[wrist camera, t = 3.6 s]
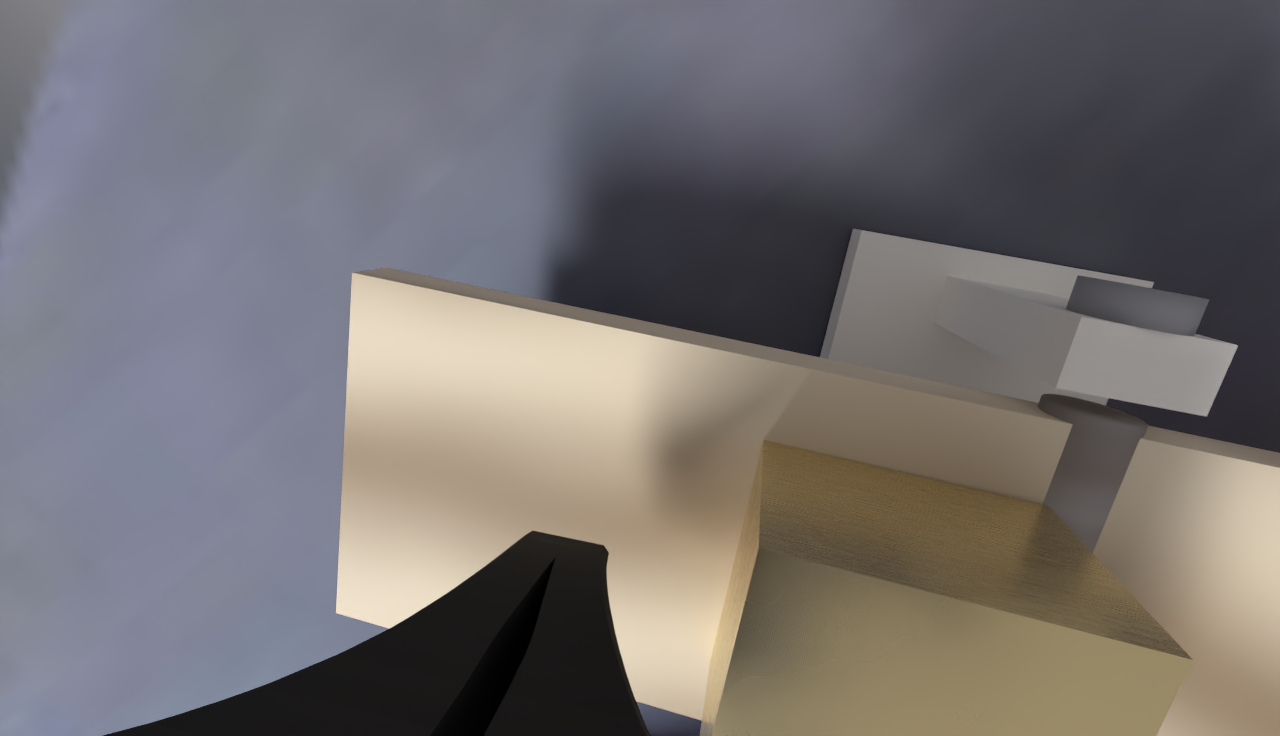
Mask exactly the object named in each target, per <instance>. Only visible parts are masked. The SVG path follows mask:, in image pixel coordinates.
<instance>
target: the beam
mask: <svg viewBox="0 0 1280 736" xmlns="http://www.w3.org/2000/svg"><path fill="white" fill-rule="evenodd" d="M763 440H767V441H771V442H776V443H780V444H784V445H789V446H793V447H797V448H801V449H806V450H810V451H814V452H819V453H823V454H827V455H832V456H836V457H840V458H845V459H849V460H853V461H857V462H862V463H866V464H870V465H875V466H879V467H883V468H888V469H892V470H896V471H900V472H905V473H909V474H913V475H918V476H922V477H926V478H931V479H935V480H939V481H944V482H948V483H952V484H956V485H961V486H965V487H969V488H974V489H978V490H982V491H987V492H991V493H995V494H1000V495H1004V496H1008V497H1012V498H1017V499H1021V500H1025V501H1030V502H1034V503H1038V504H1043V505H1047V506H1049V507H1050V508H1051V509H1052V510H1053V511H1054V512H1055V513H1056V514H1057V515H1058V517H1059V518H1060V519H1061V520H1062V521H1063V522H1064V523H1065V524H1066V525H1067V526H1068V527H1069V528H1070V529H1071V530H1072V531H1073V532H1074V534H1075V535H1076V536H1077V537H1078V538H1079V539H1080V540H1081V541H1082V542H1083V543H1084V544H1085V545H1086V546H1087V547H1088V548H1089V550H1090V551H1091V552H1092V553H1093V554H1094V555H1095V556H1096V557H1097V558H1098V559H1099V560H1100V561H1101V562H1102V563H1103V564H1104V565H1105V567H1106V568H1107V569H1108V570H1109V571H1110V572H1111V573H1112V574H1113V575H1114V576H1115V577H1116V578H1117V579H1118V580H1119V581H1120V583H1121V584H1122V585H1123V586H1124V587H1125V588H1126V589H1127V590H1128V591H1129V592H1130V593H1131V594H1132V595H1133V596H1134V597H1135V598H1136V600H1137V601H1138V602H1139V603H1140V604H1141V605H1142V606H1143V607H1144V608H1145V609H1146V610H1147V611H1148V612H1149V613H1150V614H1151V615H1152V617H1153V618H1154V619H1155V620H1156V621H1157V622H1158V623H1159V624H1160V625H1161V626H1162V627H1163V628H1164V629H1165V630H1166V631H1167V633H1168V634H1169V635H1170V636H1171V637H1172V638H1173V639H1174V640H1175V641H1176V642H1177V643H1178V644H1179V645H1180V646H1181V647H1182V648H1183V650H1184V651H1185V652H1186V653H1187V654H1188V655H1189V656H1190V657H1191V658H1192V659H1193V662H1192V664H1191V666H1190V668H1189V670H1188V672H1187V674H1186V676H1185V678H1184V680H1183V682H1182V685H1181V687H1180V689H1179V691H1178V693H1177V695H1176V697H1175V699H1174V701H1173V703H1172V705H1171V707H1170V709H1169V711H1168V713H1167V715H1166V717H1165V719H1164V721H1163V723H1162V725H1161V728H1160V730H1159V732H1158V734H1157V736H1280V453H1278V452H1273V451H1268V450H1263V449H1259V448H1254V447H1249V446H1244V445H1239V444H1235V443H1230V442H1225V441H1220V440H1215V439H1210V438H1206V437H1201V436H1196V435H1191V434H1186V433H1182V432H1177V431H1172V430H1167V429H1162V428H1157V427H1153V426H1148V424H1147V423H1146V422H1145V421H1143V420H1141V419H1139V418H1137V417H1135V416H1133V415H1131V414H1128V413H1126V412H1123V411H1120V410H1117V409H1114V408H1111V407H1108V406H1105V405H1102V404H1098V403H1095V402H1091V401H1087V400H1083V399H1079V398H1075V397H1070V396H1064V395H1058V394H1043V395H1042V396H1041V398H1040V401H1039V403H1037V402H1032V401H1027V400H1022V399H1018V398H1013V397H1008V396H1003V395H998V394H994V393H989V392H984V391H979V390H974V389H969V388H965V387H960V386H955V385H950V384H945V383H941V382H936V381H931V380H926V379H921V378H916V377H912V376H907V375H902V374H897V373H892V372H888V371H883V370H878V369H873V368H868V367H863V366H859V365H854V364H849V363H844V362H839V361H835V360H830V359H825V358H820V357H815V356H810V355H806V354H801V353H796V352H791V351H786V350H782V349H777V348H772V347H767V346H762V345H757V344H753V343H748V342H743V341H738V340H733V339H729V338H724V337H719V336H714V335H709V334H704V333H700V332H695V331H690V330H685V329H680V328H676V327H671V326H666V325H661V324H656V323H651V322H647V321H642V320H637V319H632V318H627V317H623V316H618V315H613V314H608V313H603V312H598V311H594V310H589V309H584V308H579V307H574V306H569V305H565V304H560V303H555V302H550V301H545V300H541V299H536V298H531V297H526V296H521V295H516V294H512V293H507V292H502V291H497V290H492V289H488V288H483V287H478V286H473V285H468V284H463V283H459V282H454V281H449V280H444V279H439V278H435V277H430V276H425V275H420V274H415V273H410V272H406V271H401V270H396V269H391V268H380V269H374V270H367V271H360V272H353V273H352V288H351V309H350V330H349V351H348V372H347V393H346V414H345V436H344V457H343V478H342V499H341V520H340V541H339V562H338V583H337V605H336V613H338V614H342V615H345V616H348V617H352V618H355V619H358V620H362V621H365V622H369V623H372V624H375V625H379V626H382V627H386V628H389V629H390V628H391V627H393V626H395V625H397V624H398V623H400V622H402V621H403V620H405V619H407V618H409V617H410V616H412V615H413V614H415V613H416V612H418V611H420V610H421V609H423V608H424V607H426V606H428V605H429V604H431V603H432V602H434V601H435V600H437V599H439V598H440V597H442V596H443V595H445V594H446V593H448V592H449V591H451V590H452V589H454V588H455V587H457V586H458V585H459V584H461V583H462V582H464V581H465V580H466V579H468V578H469V577H471V576H472V575H473V574H475V573H476V572H478V571H479V570H480V569H482V568H483V567H485V566H486V565H487V564H488V563H490V562H491V561H492V560H494V559H495V558H496V557H498V556H499V555H500V554H502V553H503V552H504V551H505V550H507V549H508V548H509V547H510V546H512V545H513V544H514V543H516V542H517V541H518V540H519V539H521V538H522V537H523V536H525V535H526V534H528V533H529V532H531V531H532V530H533V531H537V532H542V533H547V534H552V535H557V536H562V537H567V538H571V539H576V540H581V541H586V542H591V543H596V544H600V545H604V546H605V548H606V549H607V551H608V552H609V556H608V561H607V587H608V596H609V603H610V609H611V614H612V619H613V624H614V629H615V634H616V638H617V642H618V646H619V650H620V653H621V657H622V660H623V664H624V667H625V671H626V674H627V677H628V680H629V683H630V686H631V689H632V692H633V695H634V697H635V700H636V701H637V702H640V703H644V704H647V705H651V706H654V707H657V708H661V709H664V710H668V711H671V712H674V713H678V714H681V715H684V716H688V717H691V718H695V719H698V720H701V721H702V715H703V708H704V701H705V694H706V686H707V679H708V672H709V665H710V659H711V655H712V651H713V647H714V643H715V638H716V634H717V630H718V626H719V622H720V618H721V614H722V609H723V605H724V601H725V597H726V593H727V589H728V584H729V580H730V576H731V572H732V568H733V564H734V559H735V555H736V551H737V547H738V543H739V539H740V534H741V530H742V526H743V522H744V518H745V514H746V510H747V505H748V501H749V497H750V493H751V489H752V485H753V480H754V476H755V472H756V468H757V464H758V460H759V455H760V451H761V447H762V443H763Z"/></svg>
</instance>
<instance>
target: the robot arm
mask: <svg viewBox="0 0 1280 736" xmlns="http://www.w3.org/2000/svg"><path fill="white" fill-rule="evenodd" d="M608 556H609V552H608V551H607V549H606V548H605V546H604V545H600V544H596V543H591V542H586V541H581V540H576V539H571V538H567V537H562V536H557V535H552V534H547V533H542V532H537V531H533V530H532V531H531V532H529V533H528V534H526V535H525V536H523V537H522V538H521V539H519V540H518V541H517V542H516V543H514V544H513V545H512V546H510V547H509V548H508V549H507V550H505V551H504V552H503V553H502V554H500V555H499V556H498V557H496V558H495V559H494V560H492V561H491V562H490V563H488V564H487V565H486V566H485V567H483V568H482V569H480V570H479V571H478V572H476V573H475V574H473V575H472V576H471V577H469V578H468V579H466V580H465V581H464V582H462V583H461V584H459V585H458V586H457V587H455V588H454V589H452V590H451V591H449V592H448V593H446V594H445V595H443V596H442V597H440V598H439V599H437V600H435V601H434V602H432V603H431V604H429V605H428V606H426V607H424V608H423V609H421V610H420V611H418V612H416V613H415V614H413V615H412V616H410V617H409V618H407V619H405V620H403V621H402V622H400V623H398V624H397V625H395V626H393V627H391V628H390V629H388V630H386V631H384V632H382V633H380V634H378V635H376V636H374V637H372V638H370V639H368V640H366V641H364V642H362V643H360V644H358V645H356V646H355V647H353V648H351V649H348V650H346V651H344V652H342V653H340V654H338V655H336V656H333V657H331V658H328V659H326V660H324V661H321V662H319V663H317V664H314V665H312V666H309V667H307V668H305V669H302V670H300V671H298V672H295V673H293V674H290V675H288V676H286V677H283V678H281V679H279V680H276V681H274V682H271V683H269V684H266V685H264V686H261V687H258V688H255V689H253V690H250V691H247V692H244V693H241V694H239V695H236V696H233V697H230V698H228V699H225V700H222V701H219V702H216V703H213V704H210V705H206V706H203V707H200V708H197V709H194V710H191V711H188V712H185V713H182V714H179V715H175V716H172V717H169V718H165V719H162V720H159V721H156V722H152V723H149V724H145V725H141V726H137V727H134V728H130V729H126V730H122V731H119V732H115V733H111V734H107V735H104V736H650V734H649V732H648V730H647V727H646V725H645V723H644V720H643V718H642V715H641V713H640V710H639V708H638V705H637V703H636V700H635V697H634V695H633V692H632V689H631V686H630V683H629V680H628V677H627V674H626V671H625V667H624V664H623V660H622V657H621V653H620V650H619V646H618V642H617V638H616V634H615V629H614V624H613V619H612V614H611V609H610V603H609V596H608V587H607V561H608Z"/></svg>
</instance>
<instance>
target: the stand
mask: <svg viewBox="0 0 1280 736" xmlns="http://www.w3.org/2000/svg"><path fill="white" fill-rule="evenodd" d="M1153 284H1154V282H1151V281H1145V280H1139V279H1134V278H1128V277H1123V276H1117V275H1112V274H1106V273H1100V272H1095V271H1089V270H1084V269H1078V268H1072V267H1067V266H1061V265H1055V264H1050V263H1044V262H1039V261H1033V260H1027V259H1022V258H1016V257H1010V256H1005V255H999V254H994V253H988V252H982V251H977V250H971V249H965V248H960V247H954V246H949V245H943V244H937V243H932V242H926V241H920V240H915V239H909V238H904V237H898V236H892V235H887V234H881V233H875V232H870V231H864V230H859V229H853V230H852V234H851V238H850V242H849V245H848V249H847V253H846V257H845V261H844V265H843V269H842V273H841V277H840V281H839V284H838V288H837V292H836V296H835V300H834V304H833V308H832V312H831V316H830V319H829V323H828V327H827V331H826V335H825V339H824V343H823V347H822V351H821V355H820V358H825V359H830V360H835V361H839V362H844V363H849V364H854V365H859V366H863V367H868V368H873V369H878V370H883V371H888V372H892V373H897V374H902V375H907V376H912V377H916V378H921V379H926V380H931V381H936V382H941V383H945V384H950V385H955V386H960V387H965V388H969V389H974V390H979V391H984V392H989V393H994V394H998V395H1003V396H1008V397H1013V398H1018V399H1022V400H1027V401H1032V402H1037V403H1039V401H1040V398H1041V396H1042V395H1043V394H1058V395H1064V396H1070V397H1075V398H1079V399H1083V400H1087V401H1091V402H1095V403H1098V404H1102V405H1105V406H1106V404H1107V401H1108V399H1109V398H1111V399H1116V400H1121V401H1126V402H1132V403H1137V404H1142V405H1148V406H1153V407H1158V408H1164V409H1169V410H1174V411H1180V412H1185V413H1190V414H1196V415H1201V416H1206V417H1207V415H1208V413H1209V411H1210V408H1211V406H1212V404H1213V401H1214V399H1215V397H1216V395H1217V392H1218V390H1219V388H1220V386H1221V383H1222V381H1223V379H1224V376H1225V374H1226V372H1227V370H1228V367H1229V365H1230V363H1231V361H1232V358H1233V356H1234V354H1235V351H1236V349H1237V347H1238V345H1235V344H1232V343H1228V342H1224V341H1221V340H1217V339H1213V338H1210V337H1206V336H1202V335H1199V334H1195V333H1196V331H1197V328H1198V326H1199V324H1200V321H1201V319H1202V317H1203V314H1204V312H1205V309H1206V307H1207V305H1208V302H1209V299H1205V298H1200V297H1195V296H1190V295H1185V294H1179V293H1174V292H1169V291H1163V290H1158V289H1153V288H1152V287H1153Z"/></svg>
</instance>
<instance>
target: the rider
mask: <svg viewBox="0 0 1280 736" xmlns="http://www.w3.org/2000/svg"><path fill="white" fill-rule="evenodd" d="M1192 662H1193V659H1192V658H1191V657H1190V656H1189V655H1188V654H1187V653H1186V652H1185V651H1184V650H1183V648H1182V647H1181V646H1180V645H1179V644H1178V643H1177V642H1176V641H1175V640H1174V639H1173V638H1172V637H1171V636H1170V635H1169V634H1168V633H1167V631H1166V630H1165V629H1164V628H1163V627H1162V626H1161V625H1160V624H1159V623H1158V622H1157V621H1156V620H1155V619H1154V618H1153V617H1152V615H1151V614H1150V613H1149V612H1148V611H1147V610H1146V609H1145V608H1144V607H1143V606H1142V605H1141V604H1140V603H1139V602H1138V601H1137V600H1136V598H1135V597H1134V596H1133V595H1132V594H1131V593H1130V592H1129V591H1128V590H1127V589H1126V588H1125V587H1124V586H1123V585H1122V584H1121V583H1120V581H1119V580H1118V579H1117V578H1116V577H1115V576H1114V575H1113V574H1112V573H1111V572H1110V571H1109V570H1108V569H1107V568H1106V567H1105V565H1104V564H1103V563H1102V562H1101V561H1100V560H1099V559H1098V558H1097V557H1096V556H1095V555H1094V554H1093V553H1092V552H1091V551H1090V550H1089V548H1088V547H1087V546H1086V545H1085V544H1084V543H1083V542H1082V541H1081V540H1080V539H1079V538H1078V537H1077V536H1076V535H1075V534H1074V532H1073V531H1072V530H1071V529H1070V528H1069V527H1068V526H1067V525H1066V524H1065V523H1064V522H1063V521H1062V520H1061V519H1060V518H1059V517H1058V515H1057V514H1056V513H1055V512H1054V511H1053V510H1052V509H1051V508H1050V507H1049V506H1047V505H1043V504H1038V503H1034V502H1030V501H1025V500H1021V499H1017V498H1012V497H1008V496H1004V495H1000V494H995V493H991V492H987V491H982V490H978V489H974V488H969V487H965V486H961V485H956V484H952V483H948V482H944V481H939V480H935V479H931V478H926V477H922V476H918V475H913V474H909V473H905V472H900V471H896V470H892V469H888V468H883V467H879V466H875V465H870V464H866V463H862V462H857V461H853V460H849V459H845V458H840V457H836V456H832V455H827V454H823V453H819V452H814V451H810V450H806V449H801V448H797V447H793V446H789V445H784V444H780V443H776V442H771V441H767V440H763V443H762V447H761V451H760V455H759V460H758V464H757V468H756V472H755V476H754V480H753V485H752V489H751V493H750V497H749V501H748V505H747V510H746V514H745V518H744V522H743V526H742V530H741V534H740V539H739V543H738V547H737V551H736V555H735V559H734V564H733V568H732V572H731V576H730V580H729V584H728V589H727V593H726V597H725V601H724V605H723V609H722V614H721V618H720V622H719V626H718V630H717V634H716V638H715V643H714V647H713V651H712V655H711V659H710V665H709V672H708V679H707V686H706V694H705V701H704V708H703V715H702V722H701V729H700V736H1157V734H1158V732H1159V730H1160V728H1161V725H1162V723H1163V721H1164V719H1165V717H1166V715H1167V713H1168V711H1169V709H1170V707H1171V705H1172V703H1173V701H1174V699H1175V697H1176V695H1177V693H1178V691H1179V689H1180V687H1181V685H1182V682H1183V680H1184V678H1185V676H1186V674H1187V672H1188V670H1189V668H1190V666H1191V664H1192Z"/></svg>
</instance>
